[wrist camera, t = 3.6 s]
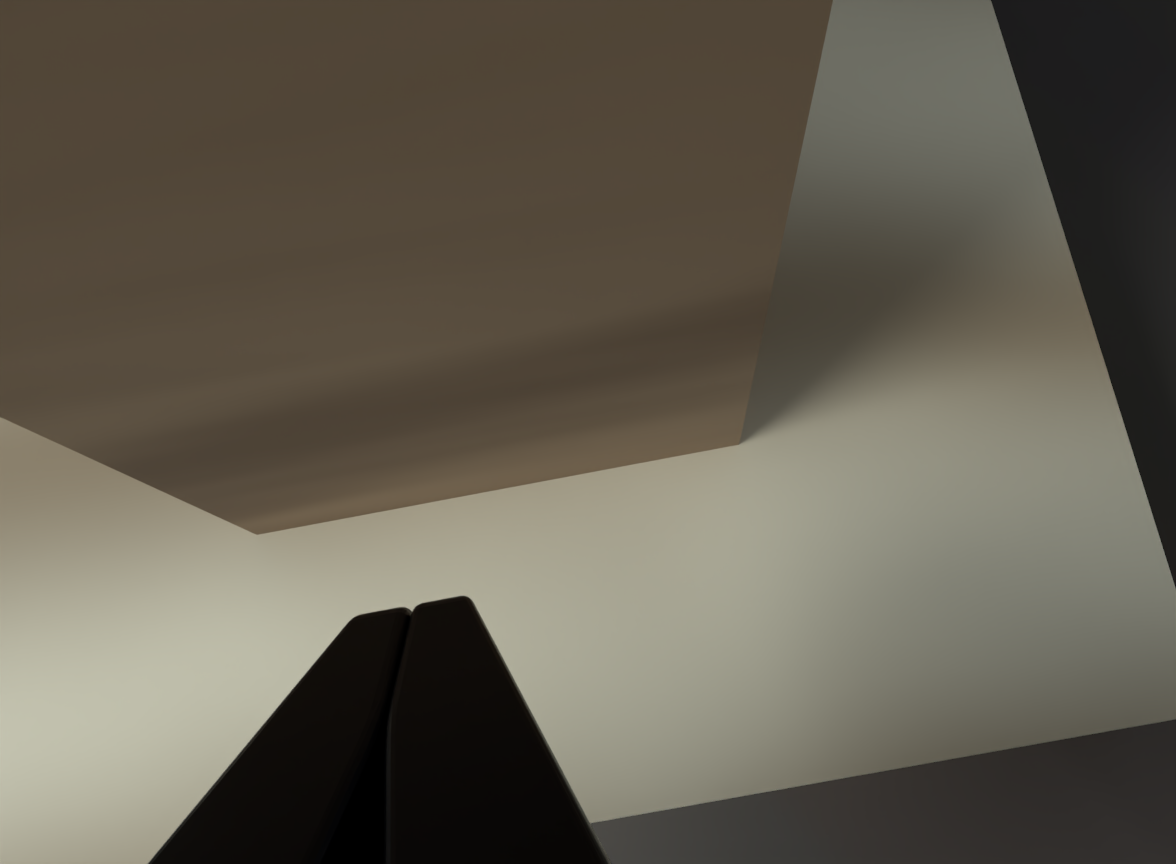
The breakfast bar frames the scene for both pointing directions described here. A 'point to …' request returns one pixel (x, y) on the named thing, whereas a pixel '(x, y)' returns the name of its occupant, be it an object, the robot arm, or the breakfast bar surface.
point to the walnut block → (390, 238)
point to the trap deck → (679, 523)
